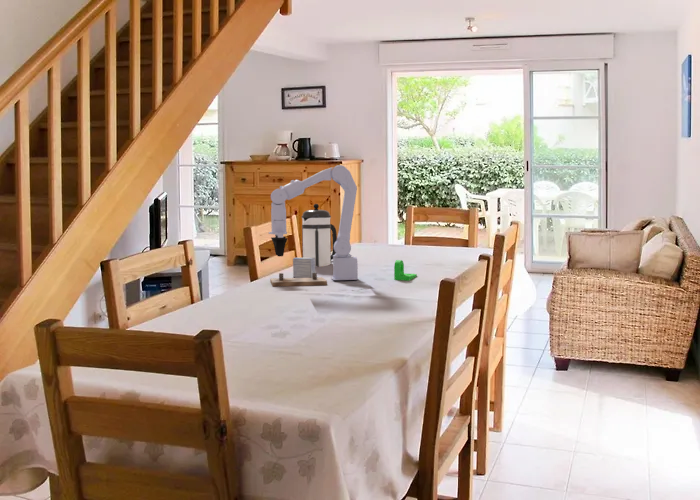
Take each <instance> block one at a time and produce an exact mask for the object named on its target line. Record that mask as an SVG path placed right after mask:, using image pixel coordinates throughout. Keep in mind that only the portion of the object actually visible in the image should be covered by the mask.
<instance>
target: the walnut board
mask: <svg viewBox="0 0 700 500" xmlns="http://www.w3.org/2000/svg"><path fill="white" fill-rule="evenodd" d="M269 280H270V281H269V282H270V285H271V286H272V288H273V287H275V288H276V287H303V286H305V287H306V286H308V287H309V286H328V281H327V280H326V279H325V278H324V277H323V276H321V277H318V273H317V272H315V273H313V278H294V277H286V278H285V277H284V273H282V272H281V273H278V278H269Z"/></svg>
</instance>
